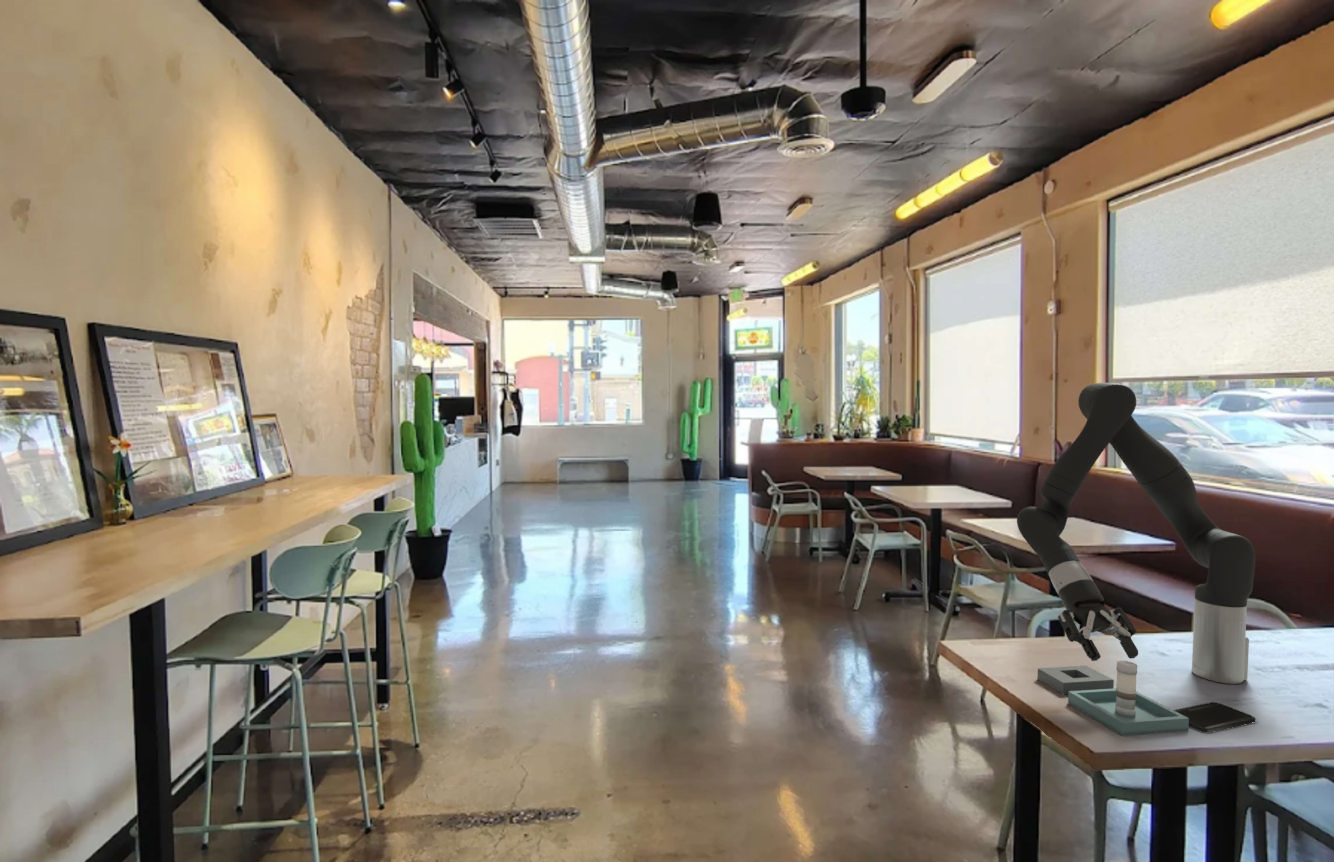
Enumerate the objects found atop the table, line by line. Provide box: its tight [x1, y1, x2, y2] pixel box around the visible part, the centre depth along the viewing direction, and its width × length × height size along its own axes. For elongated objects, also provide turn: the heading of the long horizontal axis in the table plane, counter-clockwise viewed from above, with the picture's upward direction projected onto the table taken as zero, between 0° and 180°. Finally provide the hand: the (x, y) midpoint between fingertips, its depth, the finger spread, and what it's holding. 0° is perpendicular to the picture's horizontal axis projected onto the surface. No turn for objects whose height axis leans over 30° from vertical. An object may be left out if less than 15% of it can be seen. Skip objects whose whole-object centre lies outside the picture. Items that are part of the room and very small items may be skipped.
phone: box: [1173, 701, 1256, 733], centre depth 135 cm, size 8×1×15 cm
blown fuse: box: [1115, 660, 1138, 717], centre depth 135 cm, size 3×3×10 cm
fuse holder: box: [1037, 665, 1115, 695], centre depth 150 cm, size 12×8×2 cm, turn 98°
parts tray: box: [1067, 687, 1190, 737], centre depth 136 cm, size 14×14×2 cm
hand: (1115, 658), depth 138 cm, fingers open, 8 cm apart
